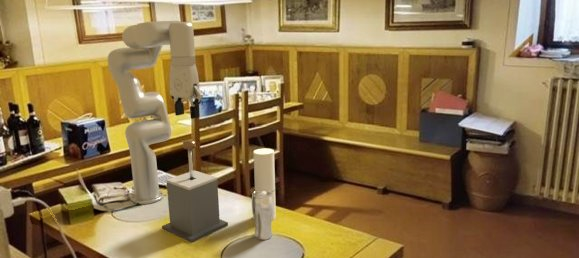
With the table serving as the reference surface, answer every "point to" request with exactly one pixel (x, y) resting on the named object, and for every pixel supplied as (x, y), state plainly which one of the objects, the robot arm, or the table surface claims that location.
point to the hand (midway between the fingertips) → (187, 115)
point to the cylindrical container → (265, 173)
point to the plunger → (190, 154)
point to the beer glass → (262, 213)
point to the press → (193, 206)
